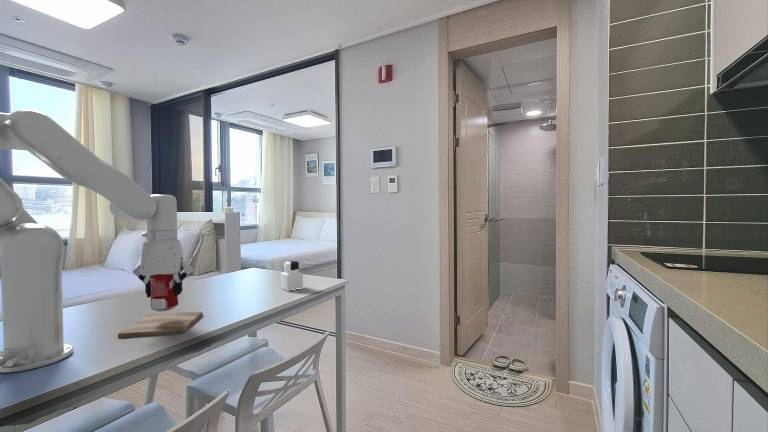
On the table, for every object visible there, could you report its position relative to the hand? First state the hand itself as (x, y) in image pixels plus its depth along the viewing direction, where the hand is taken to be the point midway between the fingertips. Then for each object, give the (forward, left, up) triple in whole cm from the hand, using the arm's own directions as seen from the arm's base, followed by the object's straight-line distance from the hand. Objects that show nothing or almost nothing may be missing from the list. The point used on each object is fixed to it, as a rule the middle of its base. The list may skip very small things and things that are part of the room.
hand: (164, 295), depth 98 cm
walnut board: (0, 0, -9) cm, 9 cm away
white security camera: (+38, -34, -9) cm, 52 cm away
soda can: (0, 0, -4) cm, 4 cm away
